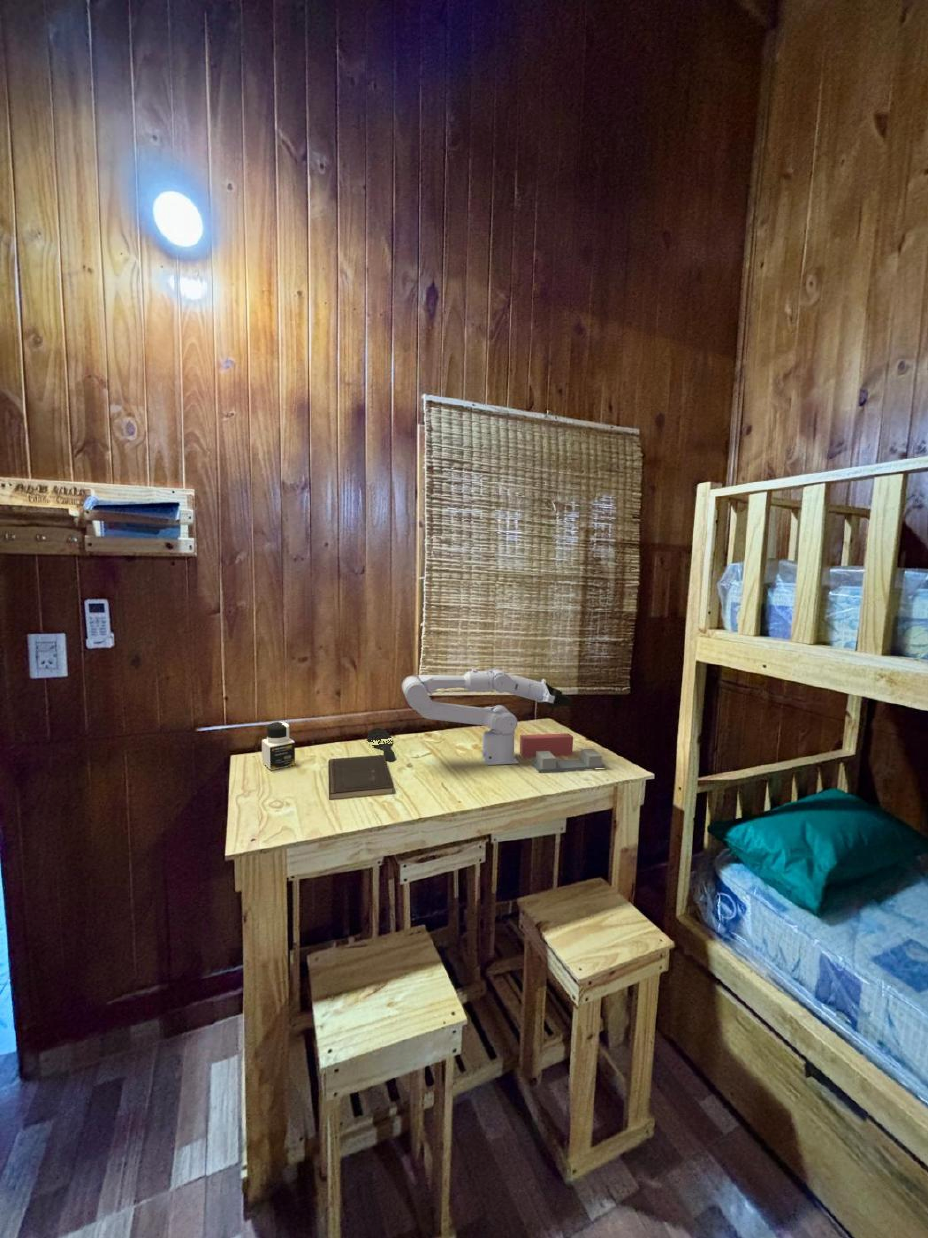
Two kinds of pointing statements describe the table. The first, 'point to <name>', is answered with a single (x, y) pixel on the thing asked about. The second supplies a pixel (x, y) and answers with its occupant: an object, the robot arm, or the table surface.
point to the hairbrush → (378, 735)
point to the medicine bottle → (278, 747)
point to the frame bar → (546, 744)
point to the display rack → (567, 762)
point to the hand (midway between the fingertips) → (566, 699)
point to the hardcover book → (359, 777)
